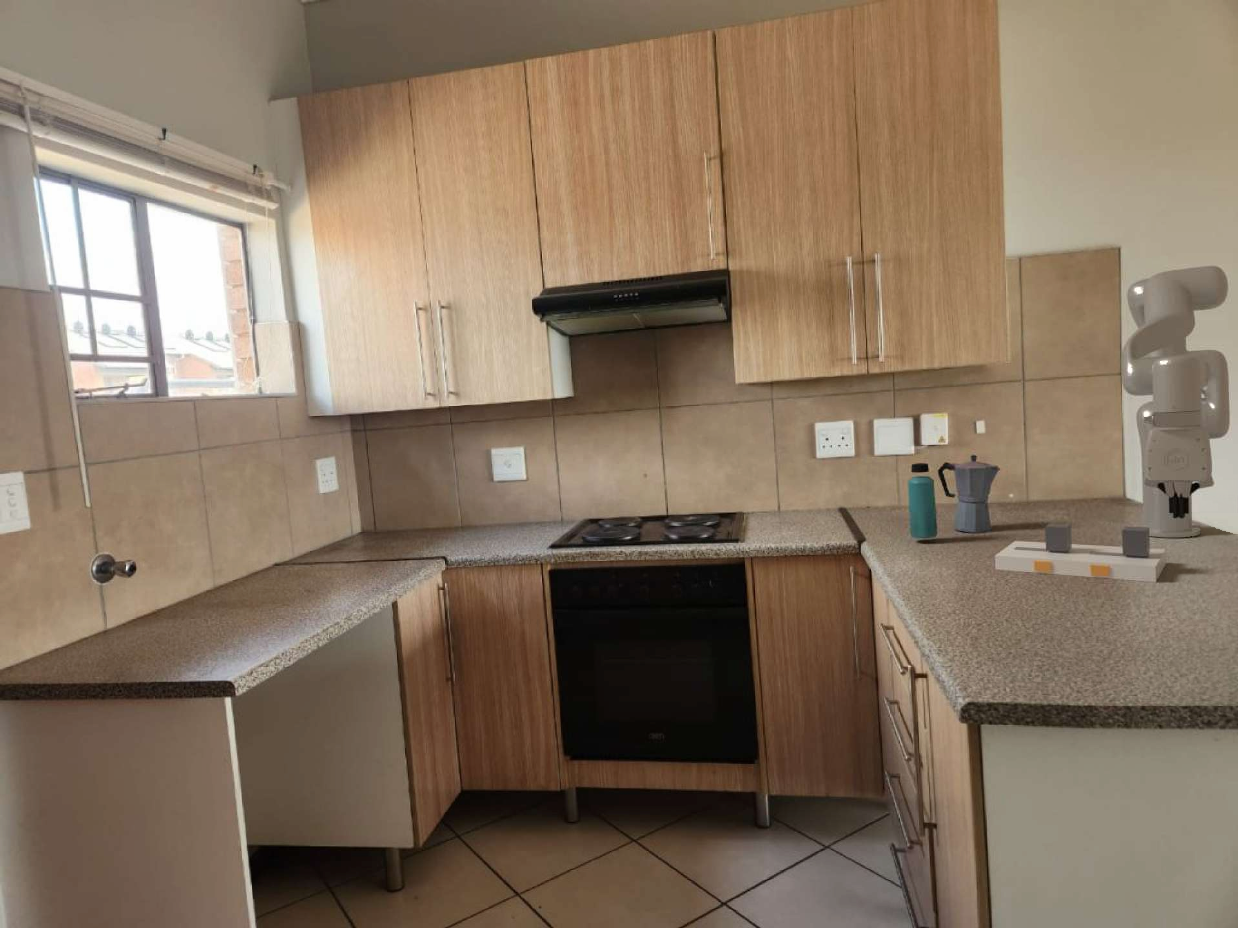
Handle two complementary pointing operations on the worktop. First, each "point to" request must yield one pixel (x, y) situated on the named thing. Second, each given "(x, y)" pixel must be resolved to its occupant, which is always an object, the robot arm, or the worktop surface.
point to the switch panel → (1081, 561)
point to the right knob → (1136, 541)
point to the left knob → (1058, 537)
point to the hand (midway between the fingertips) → (1179, 517)
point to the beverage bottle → (922, 504)
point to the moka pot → (971, 493)
